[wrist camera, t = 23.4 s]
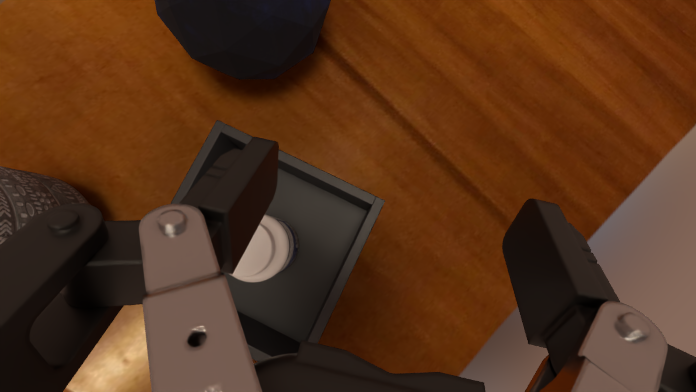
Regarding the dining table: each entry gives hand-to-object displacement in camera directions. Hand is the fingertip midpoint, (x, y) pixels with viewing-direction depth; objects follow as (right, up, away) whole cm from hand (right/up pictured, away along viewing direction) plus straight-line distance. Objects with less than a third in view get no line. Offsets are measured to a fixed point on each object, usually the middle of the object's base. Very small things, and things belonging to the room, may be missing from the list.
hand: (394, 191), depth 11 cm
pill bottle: (-9, -5, +23) cm, 25 cm away
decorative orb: (-11, +17, +26) cm, 33 cm away
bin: (-9, -5, +23) cm, 25 cm away
